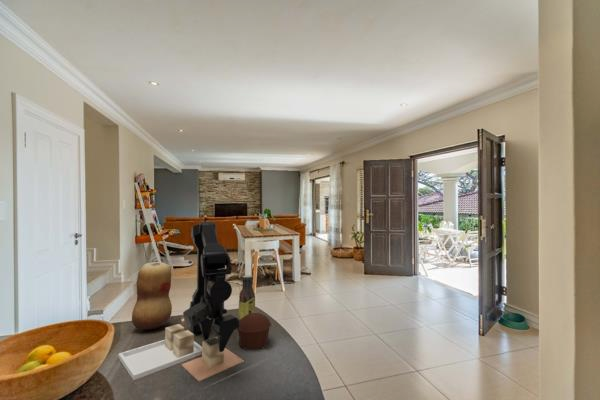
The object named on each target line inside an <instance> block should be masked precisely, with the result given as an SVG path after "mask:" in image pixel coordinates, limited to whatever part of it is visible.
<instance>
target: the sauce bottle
mask: <svg viewBox="0 0 600 400" xmlns="http://www.w3.org/2000/svg"><path fill="white" fill-rule="evenodd" d="M241 277H242V278H241V280H242V289H241V290H240V292H239V296H238V297H239V298H238V299H239V300H238V317H237V318H238V319H239V321H240V319H242V318H243V317H244V316H246V315H248V314H251V313H256V294H255V291H254V287H253V279H254V277H253V275H249V274H248V275H243V276H241Z"/></svg>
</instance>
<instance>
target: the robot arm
mask: <svg viewBox="0 0 600 400" xmlns="http://www.w3.org/2000/svg"><path fill="white" fill-rule="evenodd" d="M190 232H191V233H190V236H191V239H192V243H193V244H194V245H195V246H194V247H196V251H197V252H196V253H197V255H196V256H197V257H196V261H197V262H196V289H195V291H194V292H193V294H192V297H191V298H192V299H191V301H190V302H189V308H187V309H186V310H185V311H183V313H182V314H183V317H184V319H185V322H186V324H187V325H189V326H190V329H189V331H190V332H191V333H193V334H194V336H202V338H203V341H206V340H209V339H210V336H211V332H214V333H215V334H216V335H217V338H218V345H219V352H223V351H224V349H225V348H226V347H227V344H228V343H229V340H230V339H231V336H232V335H233V333H234V331H236V330H237V328H239V319H238V318H239V317H237V316H235V315H232V314H230V313H229V314H227V312H228V309H226V308H225V302H226V301H227V300H229V299H230V297H231V295H232V292H233V288H232V285H231V284H230V283H229V281H228V280H227V279H226V276H227V275H232V270H233V267H232V261H231V257H230V256H229V255H230V254H229V253H228V252H227V250H226V248H225V246H224V245H222V244H220V243H219V240H218V236H217V235H218V234H217V225H215V222H213V221H201V222H199V223H198V224H196V225H195V224H194V225H193V226H192V227H191V231H190ZM225 314H227V315H225ZM212 327H213V328H212Z"/></svg>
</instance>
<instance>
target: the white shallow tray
mask: <svg viewBox="0 0 600 400" xmlns="http://www.w3.org/2000/svg"><path fill="white" fill-rule="evenodd" d="M117 356H118V359H119V360H120V362H121V364H122V365H123V367H124V368H125V370H126V371H127V372H128V374H129V375H130V377H131V379H132V380H133V381H136V380H139V379H141V378H144V377H146V376H149V375H151V374H154V373H157V372H160V371H163V370H166V369H168V368H170V367H173V366H177V365H178V364H182V363H185V362H186V361H187V362H188V361H189V360H193V359H195V358H198V357H199V356H200V357H201V356H202V346H201V345H200V344H199V343H198V342H196V341H195V340H194V352H193V353H190V354H188V355H185V356H182V357H179V358H177V357H176V356H175V355H174V354H173V350H171V351H170V350H169V349H168V348H166V347H165V339H161V340H159V341H155V342H152V343H149V344H145V345H143V346H139V347H135V348H132V349H128V350H126V351H122V352H120V353H118V355H117Z"/></svg>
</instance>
